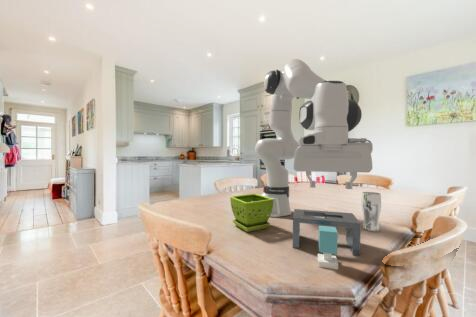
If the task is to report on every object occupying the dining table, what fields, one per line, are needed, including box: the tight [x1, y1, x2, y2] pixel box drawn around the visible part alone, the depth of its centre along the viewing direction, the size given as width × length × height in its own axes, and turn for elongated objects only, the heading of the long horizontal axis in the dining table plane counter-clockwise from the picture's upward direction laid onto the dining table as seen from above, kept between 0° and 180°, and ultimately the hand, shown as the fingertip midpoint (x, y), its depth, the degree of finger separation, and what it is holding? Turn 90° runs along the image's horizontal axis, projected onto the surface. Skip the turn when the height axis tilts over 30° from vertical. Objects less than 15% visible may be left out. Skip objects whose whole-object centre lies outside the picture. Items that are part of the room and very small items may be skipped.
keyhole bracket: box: [292, 208, 361, 257], centre depth 76 cm, size 20×12×10 cm, turn 73°
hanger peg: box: [317, 225, 339, 270], centre depth 62 cm, size 5×5×10 cm
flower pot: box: [229, 193, 273, 233], centre depth 93 cm, size 14×14×13 cm
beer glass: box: [361, 191, 382, 233], centre depth 91 cm, size 7×7×15 cm
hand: (330, 188), depth 62 cm, fingers open, 8 cm apart
